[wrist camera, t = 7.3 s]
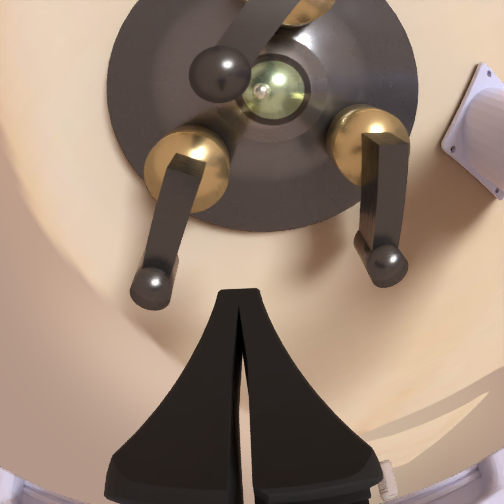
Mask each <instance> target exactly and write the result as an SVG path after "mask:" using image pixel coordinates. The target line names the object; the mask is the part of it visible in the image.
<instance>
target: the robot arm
mask: <svg viewBox="0 0 504 504" xmlns="http://www.w3.org/2000/svg"><path fill="white" fill-rule="evenodd" d="M487 72H488V75H487ZM452 146H453V148H452V150H450V149H451V147H452ZM441 148H442V149H443V151H445V152H446V153H447V154H448V155H450V156H451V157H452V158H453V159H455V160H456V161H457V162H458V163H459V164H460V165H462V166H463V167H464V168H465V169H466V170H467V171H469V172H470V173H471V174H472V175H473V176H474V177H475V178H476V179H477V180H479V181H480V182H481V183H482V184H483V185H484V186H485V187H486V188H487V189H488V190H489V191H490V192H491V193H492V194H493V195H494V196H495V197H496V198H497V199H499V200H502V199H503V198H504V84H503V83H502V82H501V80H500V79H499V78H498V77H497V76H496V74H495V73H494V72H493V71H492V70H491V69H490V67H489V66H488V65H487V64H486V63H479V64H478V67H477V69H476V72H475V74H474V76H473V78H472V81H471V83H470V85H469V87H468V90H467V92H466V94H465V96H464V98H463V100H462V103H461V105H460V107H459V109H458V111H457V113H456V115H455V117H454V119H453V121H452V123H451V125H450V127H449V129H448V131H447V133H446V135H445V136H444V138H443V140H442V143H441ZM242 355H243V359H244V366H245V373H246V380H247V387H248V394H249V410H250V432H251V433H250V434H251V457H252V482H253V490H254V495H255V504H369V500H368V499H369V498H371V493H370V487H372V486H374V485H376V484H378V483H380V482H381V481H382V480H383V479H384V478H383V471H382V468H381V465H380V463H379V460H378V458H377V456H376V454H375V452H374V450H373V449H372V447H371V446H369V445H368V444H367V443H366V442H365V441H364V440H362V439H361V438H360V437H359V436H358V435H357V434H355V433H354V432H353V431H352V430H351V429H350V428H349V427H348V426H347V425H346V424H345V423H344V422H343V421H342V420H341V419H340V418H339V417H338V416H337V415H336V414H335V413H334V412H333V411H332V410H331V409H330V408H329V407H328V405H327V404H326V403H325V402H324V401H323V400H322V399H321V398H320V396H319V395H318V394H317V393H316V392H315V390H314V389H313V388H312V387H311V385H310V384H309V383H308V382H307V380H306V379H305V378H304V376H303V375H302V373H301V372H300V371H299V369H298V368H297V366H296V365H295V363H294V362H293V360H292V359H291V357H290V356H289V354H288V352H287V351H286V349H285V347H284V346H283V344H282V342H281V340H280V339H279V337H278V335H277V333H276V331H275V329H274V327H273V325H272V323H271V321H270V319H269V316H268V314H267V312H266V309H265V307H264V304H263V301H262V298H261V294H260V290H259V289H257V288H247V289H224V290H220V291H219V292H218V295H217V299H216V302H215V305H214V308H213V311H212V313H211V316H210V319H209V321H208V323H207V326H206V328H205V330H204V332H203V335H202V337H201V339H200V341H199V343H198V345H197V347H196V349H195V350H194V352H193V354H192V356H191V358H190V360H189V362H188V363H187V365H186V367H185V368H184V370H183V372H182V373H181V375H180V377H179V378H178V380H177V381H176V383H175V384H174V386H173V387H172V389H171V390H170V391H169V393H168V394H167V396H166V397H165V398H164V400H163V401H162V402H161V404H160V405H159V406H158V407H157V409H156V410H155V411H154V412H153V413H152V415H151V416H150V417H149V418H148V419H147V420H146V422H145V423H144V424H143V425H142V426H141V427H140V429H139V430H138V431H137V432H136V433H135V434H134V435H133V436H132V437H131V438H130V439H129V440H128V441H127V442H126V443H125V444H124V445H123V446H122V447H121V448H120V449H118V451H116V452H115V453H114V454H113V456H112V458H111V461H110V464H109V468H108V471H107V475H106V483H105V491H104V496H105V497H106V498H107V499H109V500H111V501H114V502H117V503H120V504H244V501H243V486H242V470H241V453H240V452H241V451H240V428H239V402H240V386H241V371H242ZM0 504H88V503H84V502H81V501H78V500H75V499H72V498H69V497H66V496H63V495H60V494H58V493H55V492H53V491H50V490H48V489H45V488H43V487H41V486H39V485H36V484H34V483H32V482H29V481H27V480H25V479H23V478H22V477H20V476H18V475H16V474H14V473H12V472H10V471H8V470H6V469H4V468H2V467H1V466H0ZM380 504H504V447H502V448H501V449H499V450H497V451H496V452H494V453H493V454H491V455H489V456H488V457H486V458H484V459H482V460H481V461H479V462H478V463H477V464H474V465H473V466H471V467H469V468H467V469H465V470H463V471H461V472H459V473H457V474H456V475H453V476H451V477H449V478H447V479H445V480H443V481H440V482H438V483H436V484H433V485H431V486H429V487H426V488H424V489H421V490H419V491H416V492H413V493H411V494H408V495H405V496H402V497H400V498H396V499H393V500H390V501H387V502H384V503H380Z"/></svg>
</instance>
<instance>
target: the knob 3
mask: <svg viewBox="0 0 504 504" xmlns="http://www.w3.org/2000/svg"><path fill="white" fill-rule="evenodd" d="M326 148H327V152H328V154H329V157H330V158H331V160H332V161H333V163H334V164H335V165H336V166H337V167H338V169H339V170H340V171H341V172H342V173H343V175H344V176H345V177H346V178H347V179H348V180H349V181H351V182H352V183H354V184H355V185H358V186H360V187H361V203H360V223H359V231H358V232H357V233H356V235H355V237H354V247H355V249H356V250H357V252H358V254H359V256H360V258H361V260H362V262H363V264H364V266H365V268H366V270H367V272H368V274H369V276H370V278H371V279H372V281H373V283H374V285H376V286H377V287H380V288H387V287H391V286H393V285H395V284H397V283H398V282H400V281H401V280H402V279H403V277H404V276H405V275H406V273H407V270H408V262H407V260H406V259H405V257H404V256H403V254H402V253H401V251H400V250H399V248H398V245H399V239H400V232H401V226H402V218H403V211H404V203H405V194H406V184H407V173H408V159H409V155H410V139H409V136H408V133H407V130H406V128H405V127H404V125H403V124H402V123H401V121H400V120H399V119H398V118H396V117H395V116H394V115H392V114H390V113H388V112H385V111H383V110H381V109H378V108H376V107H373V106H371V105H366V104H356V105H351V106H349V107H346V108H344V109H343V110H341V111H340V112H339V113H338V114H337V115H336V116H335V117H334V118H333V119H332V121H331V123H330V124H329V127H328V130H327V133H326Z"/></svg>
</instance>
